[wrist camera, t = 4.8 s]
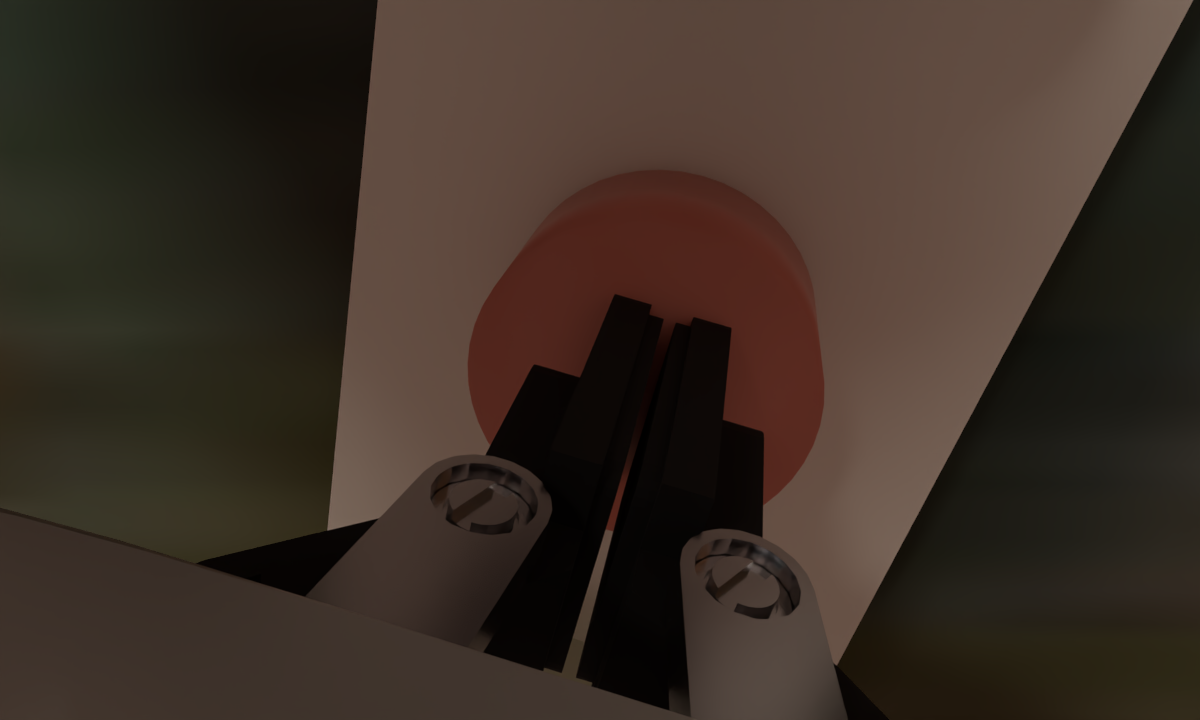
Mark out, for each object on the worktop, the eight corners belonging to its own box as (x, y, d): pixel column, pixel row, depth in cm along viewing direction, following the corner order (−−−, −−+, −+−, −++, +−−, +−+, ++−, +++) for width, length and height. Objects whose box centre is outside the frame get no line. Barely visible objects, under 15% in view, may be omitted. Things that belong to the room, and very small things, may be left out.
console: (542, -781, 11) (472, -994, 9) (1390, -583, 11) (1591, -743, 8) (361, 619, 24) (310, 706, 21) (745, 737, 23) (741, 842, 21)
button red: (544, 131, 13) (499, 176, 11) (864, 221, 13) (883, 285, 11) (490, 400, 16) (445, 481, 13) (758, 480, 15) (756, 575, 13)
